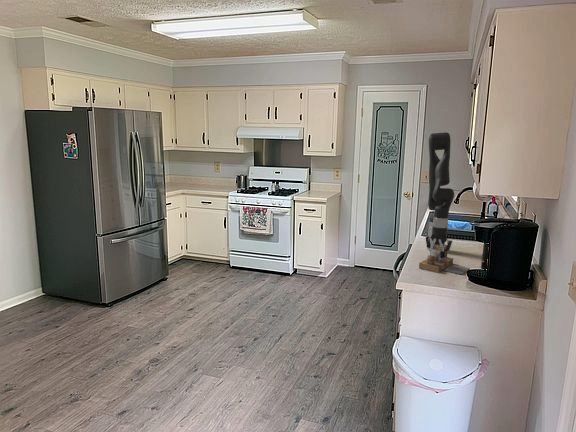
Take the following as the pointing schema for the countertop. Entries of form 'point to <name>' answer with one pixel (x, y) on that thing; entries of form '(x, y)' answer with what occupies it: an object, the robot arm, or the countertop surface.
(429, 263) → the plane body
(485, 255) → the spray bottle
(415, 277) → the countertop surface
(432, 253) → the grey labelled box
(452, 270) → the rubber mat
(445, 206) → the robot arm
